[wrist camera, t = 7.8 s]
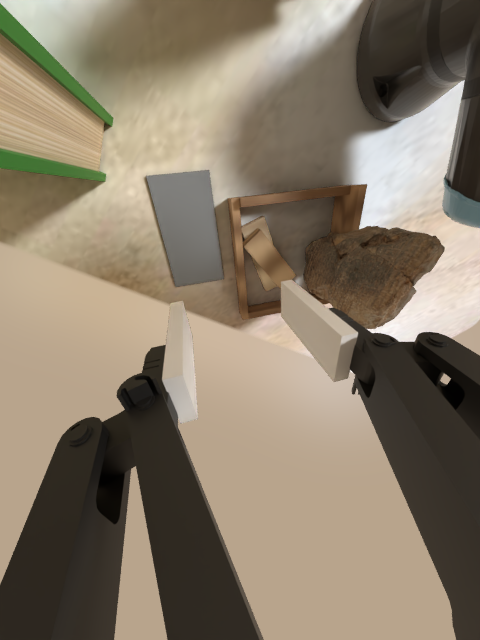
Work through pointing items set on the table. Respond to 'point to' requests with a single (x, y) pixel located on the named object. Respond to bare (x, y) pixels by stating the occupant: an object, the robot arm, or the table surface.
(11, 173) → the table surface
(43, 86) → the hardback book
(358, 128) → the table surface
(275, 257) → the offcut
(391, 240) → the brown rock
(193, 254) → the mat
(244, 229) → the offcut
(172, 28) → the table surface
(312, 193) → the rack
